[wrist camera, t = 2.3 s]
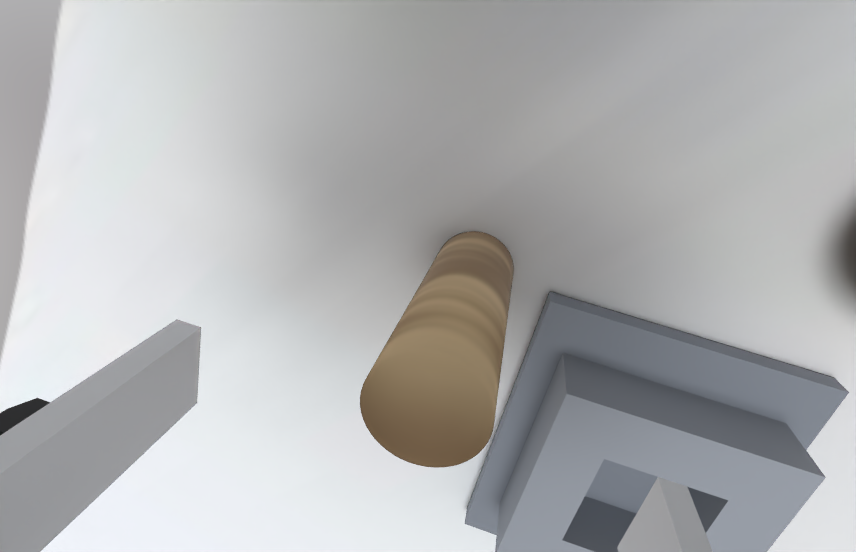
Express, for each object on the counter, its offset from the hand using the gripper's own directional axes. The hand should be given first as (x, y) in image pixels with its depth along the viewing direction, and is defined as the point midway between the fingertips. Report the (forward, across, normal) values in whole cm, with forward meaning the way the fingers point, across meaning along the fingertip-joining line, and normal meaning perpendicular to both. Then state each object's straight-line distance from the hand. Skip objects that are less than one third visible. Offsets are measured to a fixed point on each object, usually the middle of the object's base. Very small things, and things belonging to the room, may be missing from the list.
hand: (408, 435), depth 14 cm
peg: (+13, 0, 0) cm, 13 cm away
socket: (+13, +11, -8) cm, 19 cm away
